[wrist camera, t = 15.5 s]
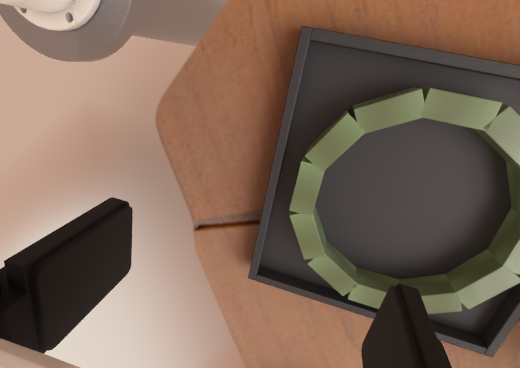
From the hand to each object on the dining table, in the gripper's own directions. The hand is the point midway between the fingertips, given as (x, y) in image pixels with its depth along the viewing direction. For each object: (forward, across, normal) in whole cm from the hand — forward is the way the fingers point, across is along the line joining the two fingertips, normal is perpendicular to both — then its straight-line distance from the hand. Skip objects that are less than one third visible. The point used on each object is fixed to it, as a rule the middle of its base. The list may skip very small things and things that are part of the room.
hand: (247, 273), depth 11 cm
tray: (+18, -10, +2) cm, 21 cm away
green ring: (+17, -10, +2) cm, 20 cm away
